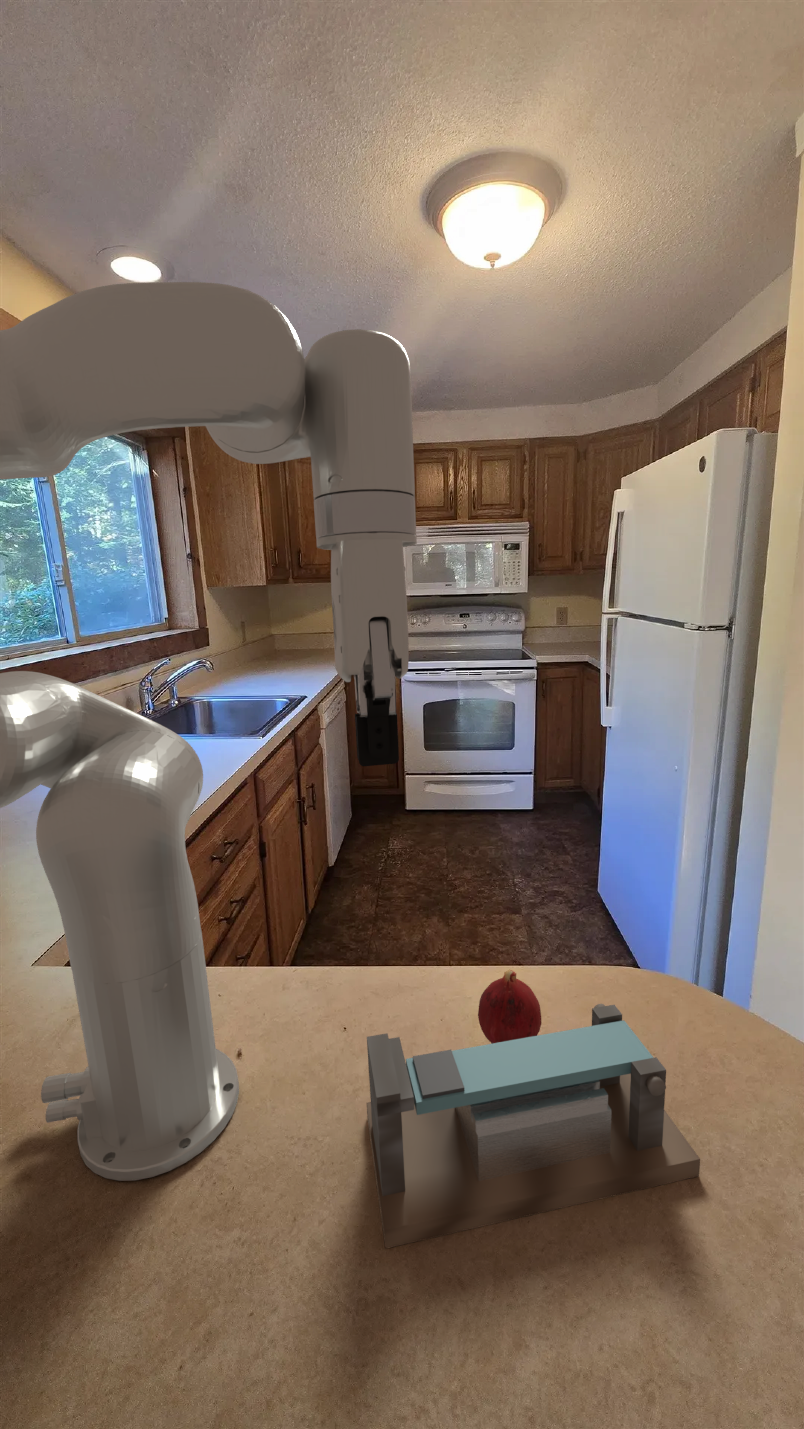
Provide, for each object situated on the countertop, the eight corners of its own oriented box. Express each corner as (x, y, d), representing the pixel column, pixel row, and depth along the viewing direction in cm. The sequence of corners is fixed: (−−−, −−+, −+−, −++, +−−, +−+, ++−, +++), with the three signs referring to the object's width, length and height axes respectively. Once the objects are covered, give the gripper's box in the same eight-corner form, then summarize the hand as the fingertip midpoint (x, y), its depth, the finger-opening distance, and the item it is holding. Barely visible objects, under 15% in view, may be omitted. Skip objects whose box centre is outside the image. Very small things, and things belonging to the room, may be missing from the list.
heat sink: (478, 1181, 41) (477, 1127, 40) (454, 1105, 47) (453, 1057, 46) (610, 1152, 42) (611, 1100, 42) (570, 1082, 49) (570, 1036, 48)
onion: (542, 1077, 51) (542, 997, 50) (476, 1069, 52) (474, 990, 51) (540, 1029, 57) (540, 956, 55) (481, 1023, 58) (479, 951, 56)
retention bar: (416, 1114, 40) (416, 1099, 40) (406, 1070, 44) (405, 1055, 44) (653, 1069, 43) (653, 1054, 43) (623, 1031, 47) (624, 1016, 47)
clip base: (385, 1248, 38) (378, 1127, 36) (367, 1118, 48) (360, 1017, 46) (699, 1176, 42) (706, 1062, 40) (623, 1068, 52) (627, 973, 50)
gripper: (313, 538, 50) (327, 744, 54) (318, 511, 35) (337, 796, 39) (398, 536, 51) (407, 738, 55) (437, 509, 37) (445, 786, 40)
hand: (378, 761), depth 47 cm, fingers closed
